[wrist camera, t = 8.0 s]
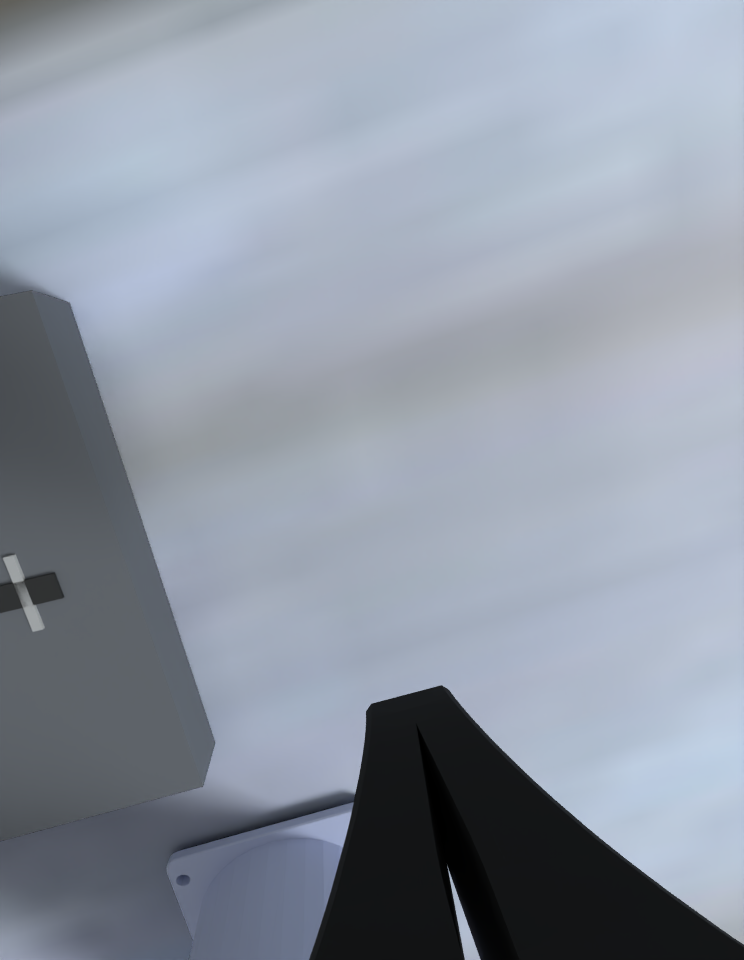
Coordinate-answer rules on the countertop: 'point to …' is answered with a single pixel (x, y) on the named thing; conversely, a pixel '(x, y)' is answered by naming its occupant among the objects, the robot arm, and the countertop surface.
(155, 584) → the panel
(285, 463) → the countertop surface
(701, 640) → the countertop surface
